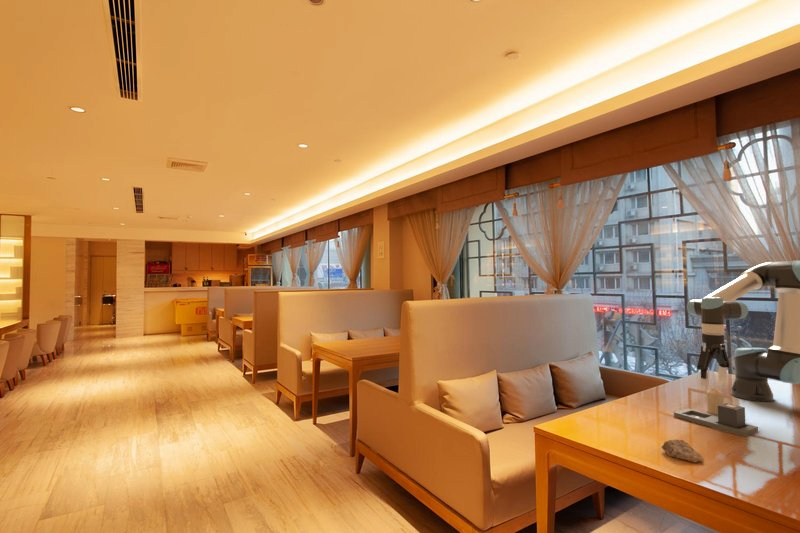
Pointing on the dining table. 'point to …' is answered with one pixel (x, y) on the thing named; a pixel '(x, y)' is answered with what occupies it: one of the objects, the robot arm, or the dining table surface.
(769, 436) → the dining table surface
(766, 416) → the dining table surface
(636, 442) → the dining table surface
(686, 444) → the rock
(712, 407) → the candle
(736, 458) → the dining table surface
